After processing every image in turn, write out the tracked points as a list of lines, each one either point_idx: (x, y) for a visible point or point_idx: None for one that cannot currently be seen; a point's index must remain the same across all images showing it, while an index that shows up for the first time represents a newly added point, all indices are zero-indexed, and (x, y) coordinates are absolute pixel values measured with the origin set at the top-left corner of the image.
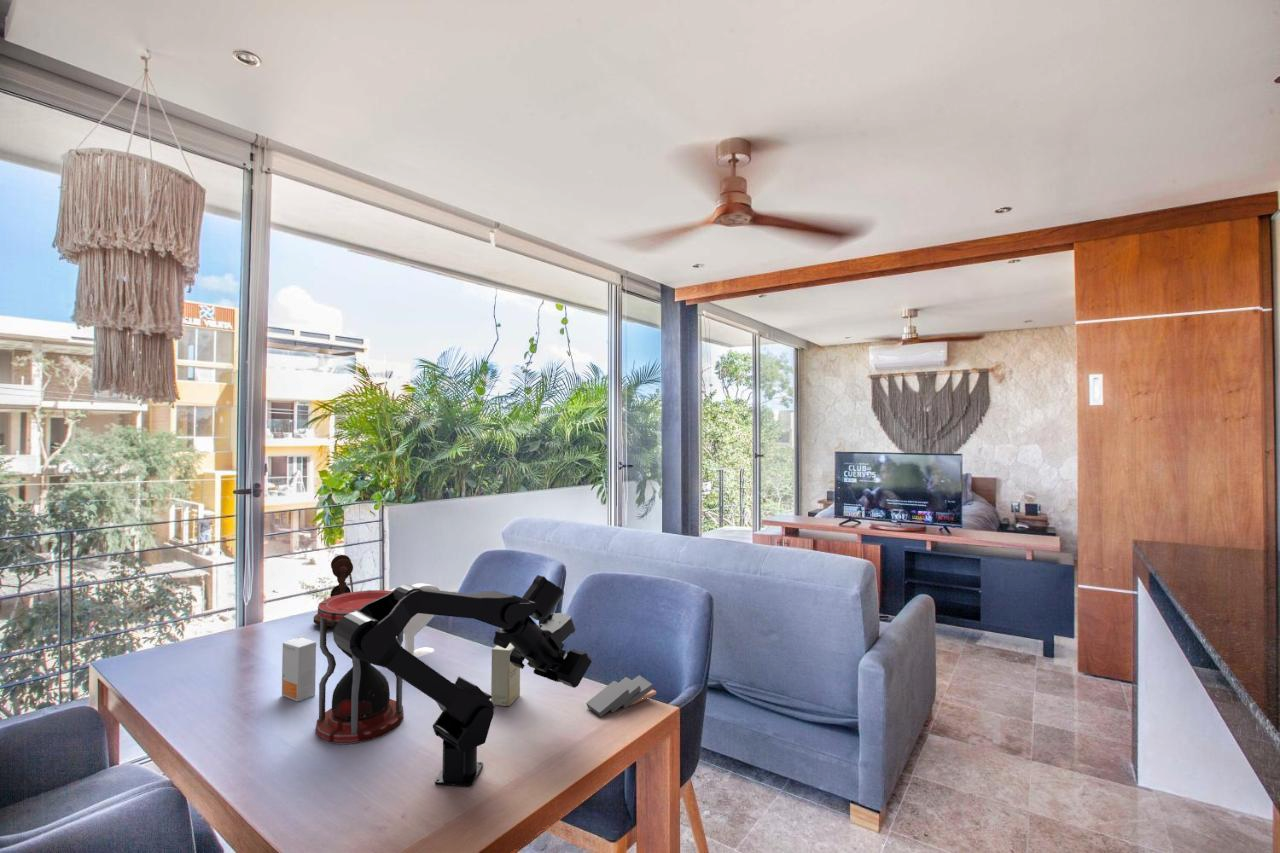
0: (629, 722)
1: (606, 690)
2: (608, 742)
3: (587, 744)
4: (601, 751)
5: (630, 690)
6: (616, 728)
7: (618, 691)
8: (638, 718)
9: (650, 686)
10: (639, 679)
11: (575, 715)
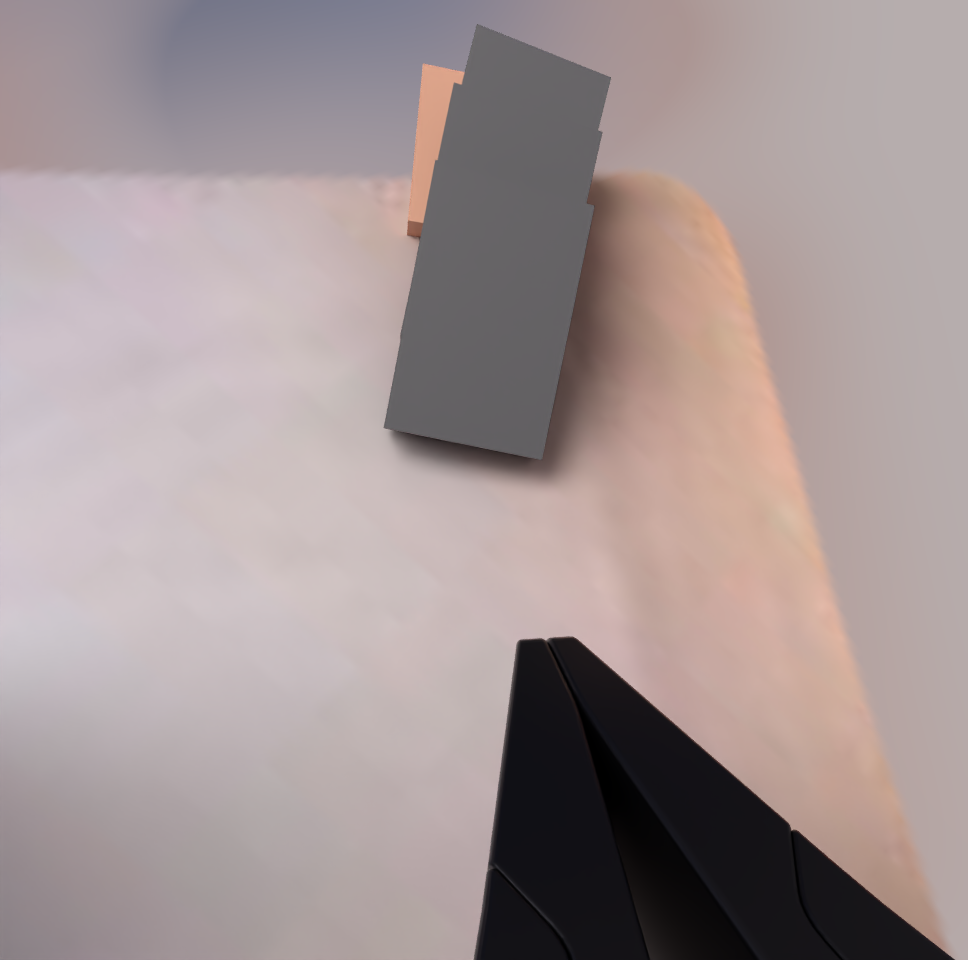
0: (677, 398)
1: (446, 269)
2: (780, 635)
3: (732, 749)
4: (836, 738)
5: (571, 193)
6: (686, 491)
7: (543, 249)
8: (672, 339)
9: (604, 97)
10: (505, 62)
11: (395, 548)
